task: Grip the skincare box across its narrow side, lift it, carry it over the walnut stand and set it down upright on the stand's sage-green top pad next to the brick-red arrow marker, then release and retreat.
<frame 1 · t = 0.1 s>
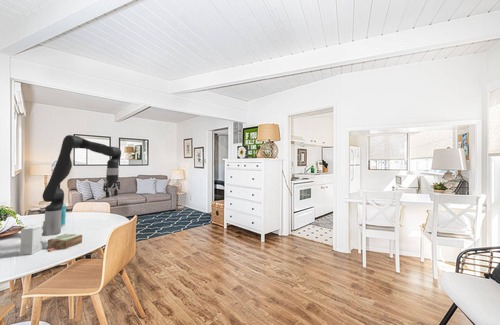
hand: (111, 196, 160), 29 cm above the table, fingers open, 8 cm apart
arrow marker: (51, 250, 133), on the table
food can: (55, 227, 180), on the table
skincare box: (31, 252, 130), on the table
stand: (65, 245, 142), on the table
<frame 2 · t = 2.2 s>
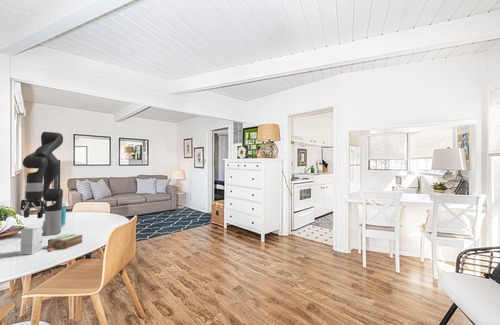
hand: (33, 217, 130), 20 cm above the table, fingers open, 8 cm apart
nothing on the table moved.
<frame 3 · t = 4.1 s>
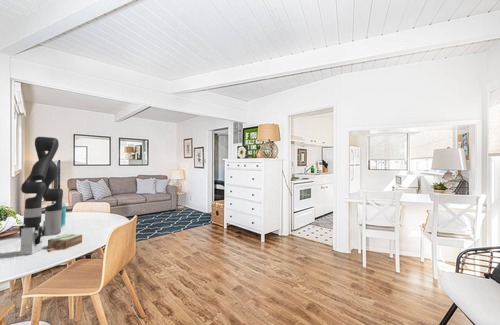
hand: (31, 243, 130), 5 cm above the table, fingers closed on skincare box, 7 cm apart
skincare box: (31, 252, 130), on the table, touching gripper
everything else where it was.
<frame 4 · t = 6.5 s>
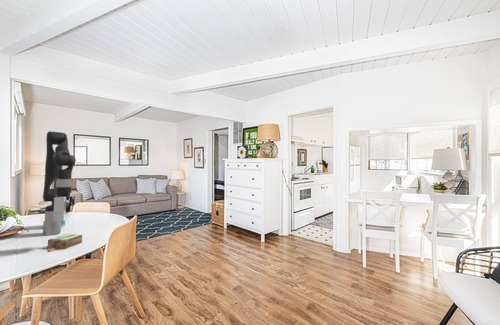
hand: (62, 211, 141), 22 cm above the table, fingers closed on skincare box, 7 cm apart
skincare box: (62, 219, 141), point 16 cm above the table, touching gripper
everything else where it was.
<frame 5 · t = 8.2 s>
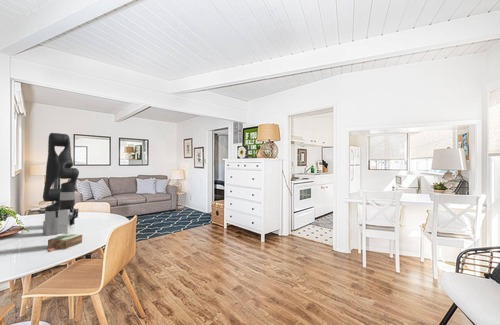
hand: (66, 224, 142), 13 cm above the table, fingers closed on skincare box, 7 cm apart
skincare box: (66, 232, 142), point 8 cm above the table, touching gripper
everything else where it was.
when the fingers open (11 cm above the table, at t = 9.2 s): skincare box stays where it is, resting on stand.
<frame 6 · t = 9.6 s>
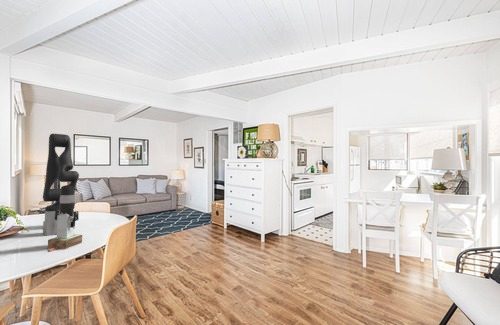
hand: (66, 227, 142), 12 cm above the table, fingers open, 8 cm apart
skincare box: (65, 237, 142), point 5 cm above the table, touching stand
everything else where it was.
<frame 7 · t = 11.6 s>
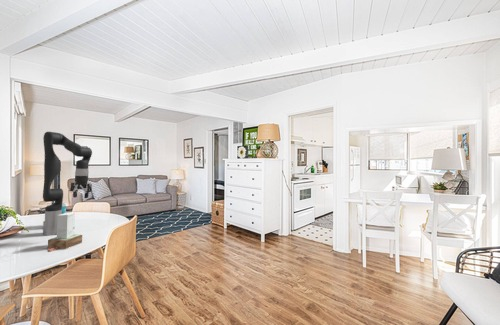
hand: (80, 197, 157), 28 cm above the table, fingers open, 8 cm apart
nothing on the table moved.
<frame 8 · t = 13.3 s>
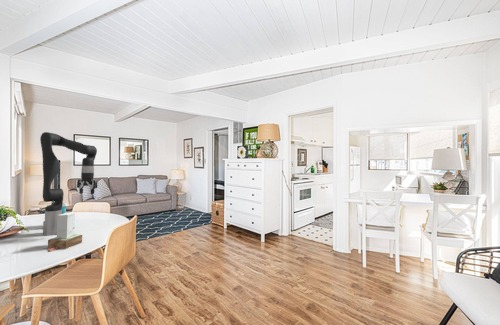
hand: (86, 193, 164), 30 cm above the table, fingers open, 8 cm apart
nothing on the table moved.
at the end: skincare box inside the target area on the stand (0.2 cm from its centre), point 5.1 cm above the stand's base; skincare box tilted 0°; the gripper is holding nothing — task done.
